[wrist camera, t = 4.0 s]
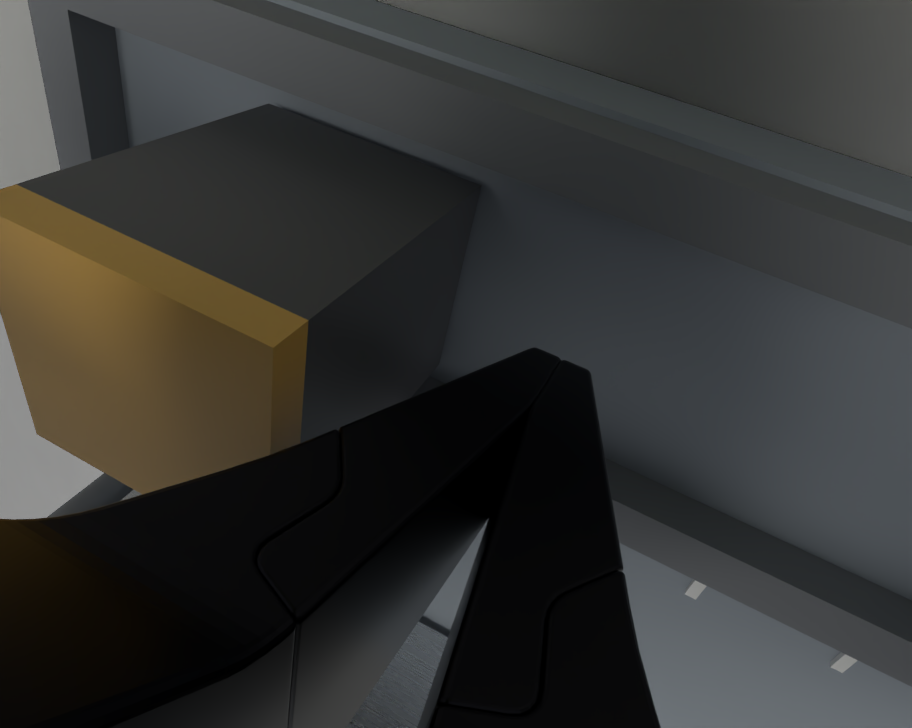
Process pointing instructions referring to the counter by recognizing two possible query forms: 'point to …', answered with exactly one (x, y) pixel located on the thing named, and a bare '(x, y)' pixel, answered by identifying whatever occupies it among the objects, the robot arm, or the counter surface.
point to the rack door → (399, 680)
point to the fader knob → (227, 292)
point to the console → (613, 317)
